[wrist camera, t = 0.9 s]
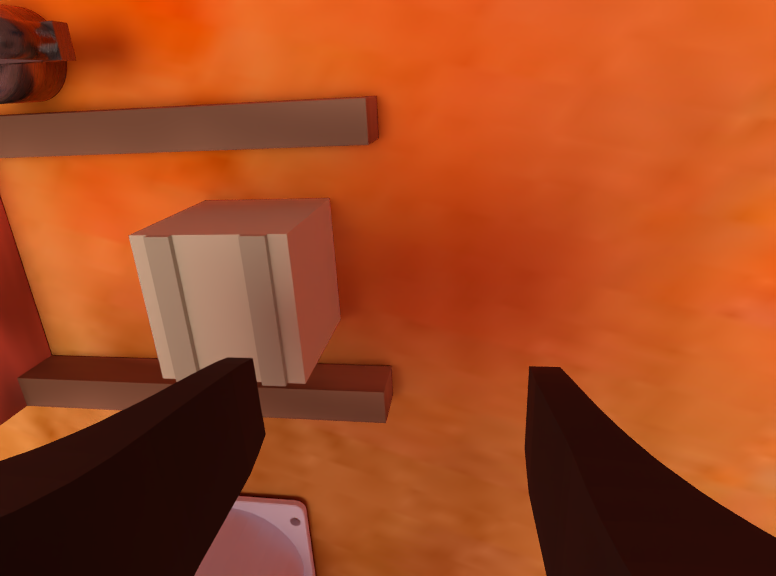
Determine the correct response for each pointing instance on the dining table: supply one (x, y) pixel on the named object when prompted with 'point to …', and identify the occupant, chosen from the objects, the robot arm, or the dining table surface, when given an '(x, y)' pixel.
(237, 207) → the crate
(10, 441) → the dining table surface
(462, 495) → the dining table surface
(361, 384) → the bay
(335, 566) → the dining table surface
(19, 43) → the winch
